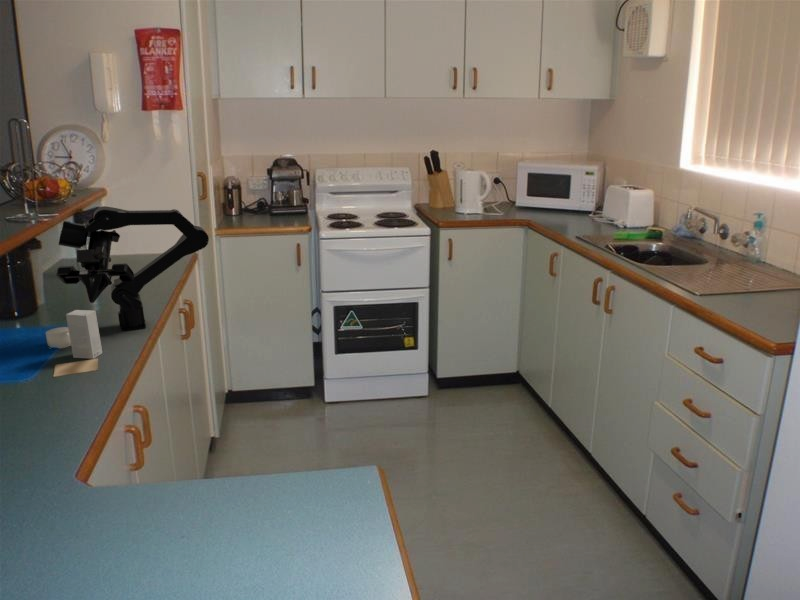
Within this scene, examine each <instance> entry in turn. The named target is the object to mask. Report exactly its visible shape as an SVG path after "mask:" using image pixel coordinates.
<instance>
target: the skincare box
mask: <svg viewBox="0 0 800 600" xmlns="http://www.w3.org/2000/svg"><path fill="white" fill-rule="evenodd" d="M65 317H66V318H65V319H66V324H67V327H68V330H69V336H70V341H71V352H72V358H74V359H85V360H91V359H97V358H98V357H99V356H100V355H102V354H103V350H102V349H103V348H102V342H101V335H100V330H99V324H98V319H97V313H96V310H89V309H87V310H86V309H74V310H73V311H72V310H71V311H70V312H68V313H66V314H65Z"/></svg>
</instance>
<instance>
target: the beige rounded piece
mask: <svg viewBox="0 0 800 600" xmlns="http://www.w3.org/2000/svg"><path fill="white" fill-rule="evenodd" d="M45 337H46V342H47V347H48V346H50V347H57V348H59V350H60V349H65V348H69V347H70V346H71V341H70V336H69V330H68V326H61V327H60V326H59V327H55V328H51V329H49V330H47V331H45Z"/></svg>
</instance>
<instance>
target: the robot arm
mask: <svg viewBox="0 0 800 600" xmlns="http://www.w3.org/2000/svg"><path fill="white" fill-rule="evenodd" d="M162 225H163V226H164V225H171V226H174V227H175V228H177V229H178V231H180V233H182V234H181V236H180V237H179V239H178V240H177V241H176V243H174V245H171V247H169V248H168V249H167V250H165V251H164V252H163V253H161V254H160V255H158V256H157V257H156V258H155V259H153V260H152V261H150V262H149V263H148V264H146V265H144V267H142V268H140V270H138V271H136V272H135V273H134V271H133V270H132V268H131V267H130V266H129V265H128V263H113V264H112V266H111V268H109V265H110V264H109V263H111V262H112V258H111V249H112V243H118V242H119V241H120V237H121V235H120V234H119V233H118V232H117V231H116V229H117V230H118V229H120V228H124V227H127V226H128V227H129V226H162ZM111 230H112V231H111ZM88 238H89V241H87V240H88ZM209 239H210V237H209V235H208V233H207V232H206V230H205V229H204V228H203V227H201V226H199V225H198V226H197V225H194V224H193V223H192V222H191V221H190V220H189V219H188V218H186V217H185V216H184V215H183V214H182V213H181V212H180V211H179V210H178V209H176V208H174V209H173V208H172V209H171V210H170V209H169V210H168V209H167V210H166V209H164V210H163V209H159V210H157V209H156V210H155V209H153V210H127V209H123V208H118V207H112V206H104V205H103V206H99V207H98V208H96V210H95V211H94V213H93V217H91V218H90V219H89V220H87V221H86V222H85V223H84V224H81V223H75V222H71V221H68V220H63V223H62V228H61V230H60V233H59V239H58V246H62V247H67V248H73V249H77V250H76V263H77V264H78V263H80V267H81V268H80V269H79V270H77V269H76V267H74V265H64V266H63V265H60V266H59V267H58V268H57V269H56V273H55V275H56V277H58V279H60V281H61V282H62V283H63V284H65V285H77V284H79V282H81V283H82V284H83V285H84V286H85V289H86V292H87V296H88V297H87V298H88V300H89V303H90V304H92V303H93V304H94V303H95V302H96V301H97V299H98V298H99V297H100V295H101V294H102V293H103V292H104V290H105V289H106V288H107V287H109V285H111V286H110V297H111V300H112V302H113V303H114V304H116V305H118V306H119V311H117V315H118V322H119V324H118V325H119V328H121V331H123V332H124V331H125V332H126V331H133V330H139V329H146V328H147V323H146V319H145V314H144V313H145V312H144V305H143V302H142V299H141V294H140V292H141V291H142V289H143V288H144V287H145V286H146V285H147V284H148V283H150V282H151V281H153V280H154V279H156V277H158V276H159V275H160V274H162V273H164V272H165V271H167V270H168V269H169V268H171V267H172V266H173V265H174V264H176V263H177V262H179V261H180V260H181V259H183V258H184V257H186V256H188V255H192V254H195V253H196V252H199V251H201V250H203V249H204V248H206V247H207V246H208V245H209V241H210V240H209ZM87 242H88V246H87ZM86 246H87V249H86V248H85V249H82V248H84V247H86ZM113 277H118V278H115V279H113V283H112V278H113Z"/></svg>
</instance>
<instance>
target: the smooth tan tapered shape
mask: <svg viewBox="0 0 800 600" xmlns="http://www.w3.org/2000/svg"><path fill="white" fill-rule="evenodd" d="M96 370H97V371H99V358H94V359H85V360H79V361H72V362H65V363H59V364H58V363H57V364H55V365H54V372H53V375H52V376H53V378H57V377H65V376H71V375H77V374H83V373H84V374H85V373H90V372H96Z"/></svg>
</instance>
